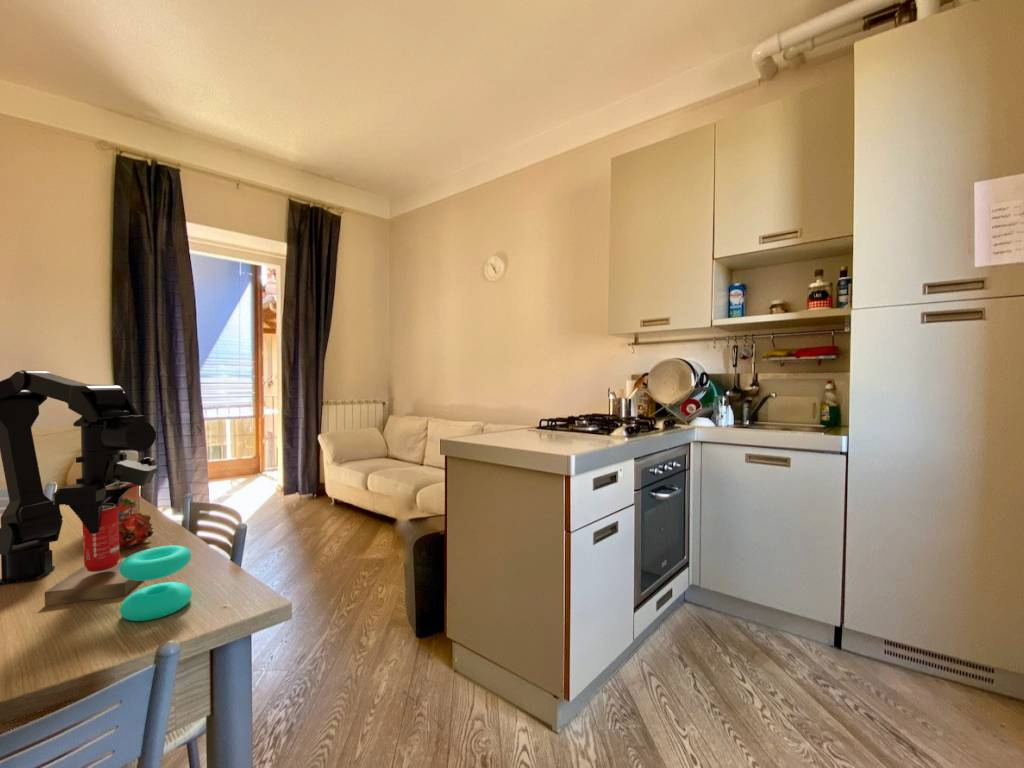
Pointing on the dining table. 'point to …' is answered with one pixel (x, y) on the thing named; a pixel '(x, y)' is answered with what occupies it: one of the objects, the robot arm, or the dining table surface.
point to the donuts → (157, 596)
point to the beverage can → (102, 541)
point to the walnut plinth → (90, 586)
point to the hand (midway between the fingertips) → (102, 528)
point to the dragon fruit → (133, 529)
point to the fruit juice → (130, 492)
